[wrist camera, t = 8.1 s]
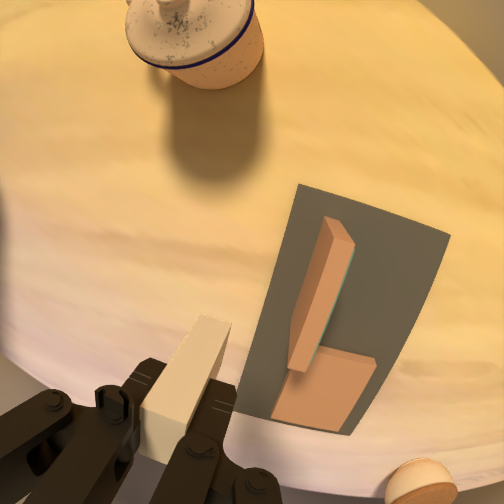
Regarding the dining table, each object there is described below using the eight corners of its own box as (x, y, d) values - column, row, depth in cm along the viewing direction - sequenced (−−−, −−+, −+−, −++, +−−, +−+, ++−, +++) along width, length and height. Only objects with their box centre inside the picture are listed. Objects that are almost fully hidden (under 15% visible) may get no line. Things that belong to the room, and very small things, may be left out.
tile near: (291, 317, 30) (287, 367, 22) (324, 216, 27) (334, 237, 19) (307, 322, 30) (308, 372, 22) (341, 221, 27) (358, 245, 19)
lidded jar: (365, 476, 36) (371, 526, 27) (425, 439, 33) (441, 490, 24) (402, 492, 37) (410, 535, 28) (456, 459, 34) (471, 502, 25)
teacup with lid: (286, 32, 23) (277, -37, 12) (229, 111, 26) (184, 80, 15) (182, -13, 23) (132, -73, 12) (131, 57, 26) (56, 22, 14)
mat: (231, 406, 35) (230, 409, 34) (298, 183, 27) (298, 184, 26) (349, 432, 34) (349, 435, 33) (448, 233, 26) (450, 235, 26)
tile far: (270, 418, 32) (337, 431, 31) (300, 348, 29) (376, 365, 28) (271, 408, 33) (337, 422, 33) (300, 339, 30) (373, 356, 30)
